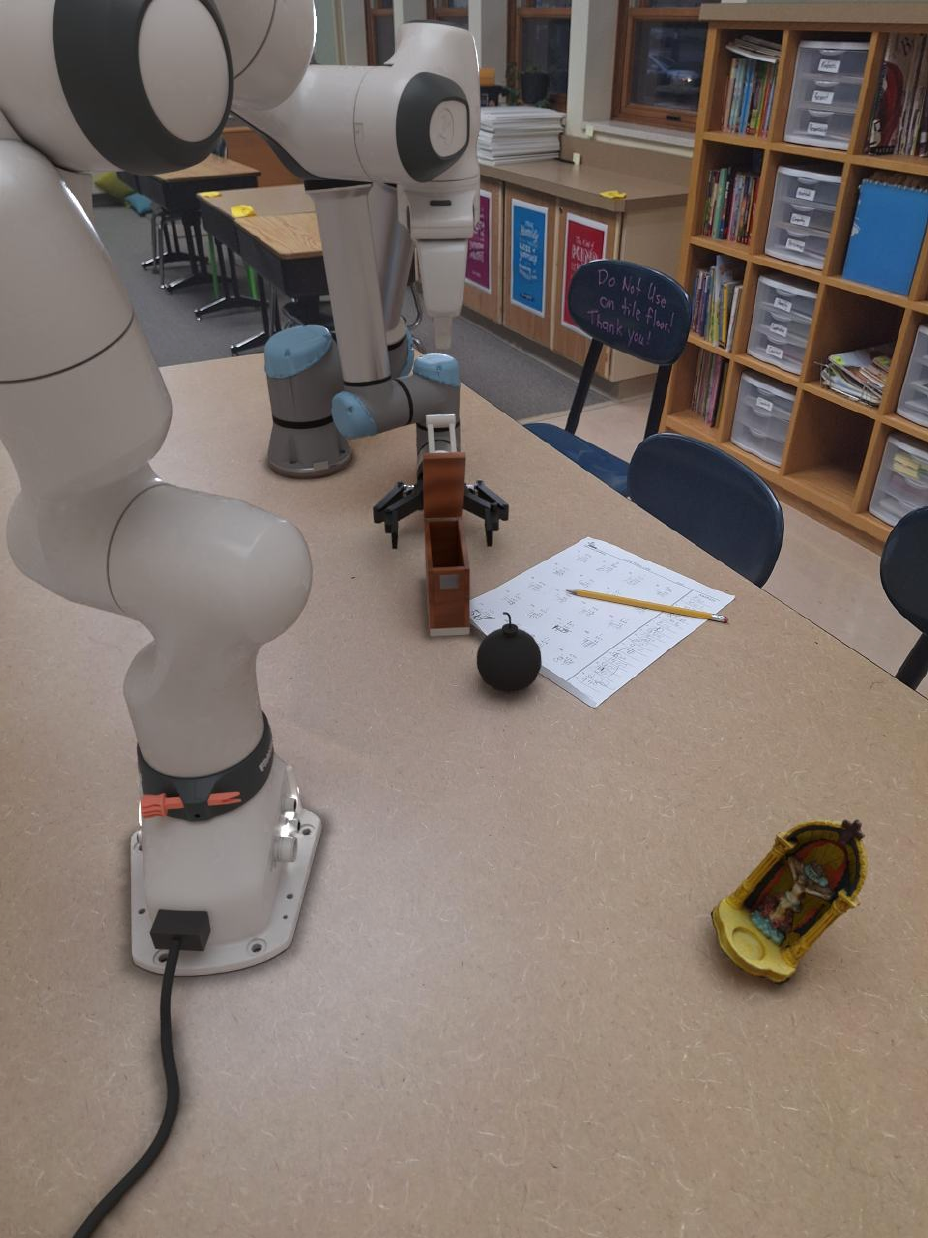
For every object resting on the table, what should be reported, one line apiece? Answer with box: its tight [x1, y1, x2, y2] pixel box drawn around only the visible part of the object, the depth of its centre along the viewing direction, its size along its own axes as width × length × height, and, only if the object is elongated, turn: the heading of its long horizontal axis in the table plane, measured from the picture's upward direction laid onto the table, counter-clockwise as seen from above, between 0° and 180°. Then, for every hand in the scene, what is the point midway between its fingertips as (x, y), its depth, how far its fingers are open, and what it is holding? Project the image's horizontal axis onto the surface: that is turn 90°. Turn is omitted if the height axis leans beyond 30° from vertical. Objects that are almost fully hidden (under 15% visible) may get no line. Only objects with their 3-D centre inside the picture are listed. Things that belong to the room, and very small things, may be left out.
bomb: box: [476, 611, 543, 694], centre depth 103 cm, size 8×8×12 cm
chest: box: [423, 517, 471, 637], centre depth 117 cm, size 13×5×10 cm, turn 4°
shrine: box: [710, 818, 868, 986], centre depth 72 cm, size 12×8×15 cm
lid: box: [423, 414, 467, 520], centre depth 115 cm, size 14×5×9 cm
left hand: (441, 334), depth 100 cm, fingers open, 8 cm apart
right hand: (442, 539), depth 122 cm, fingers open, 13 cm apart
